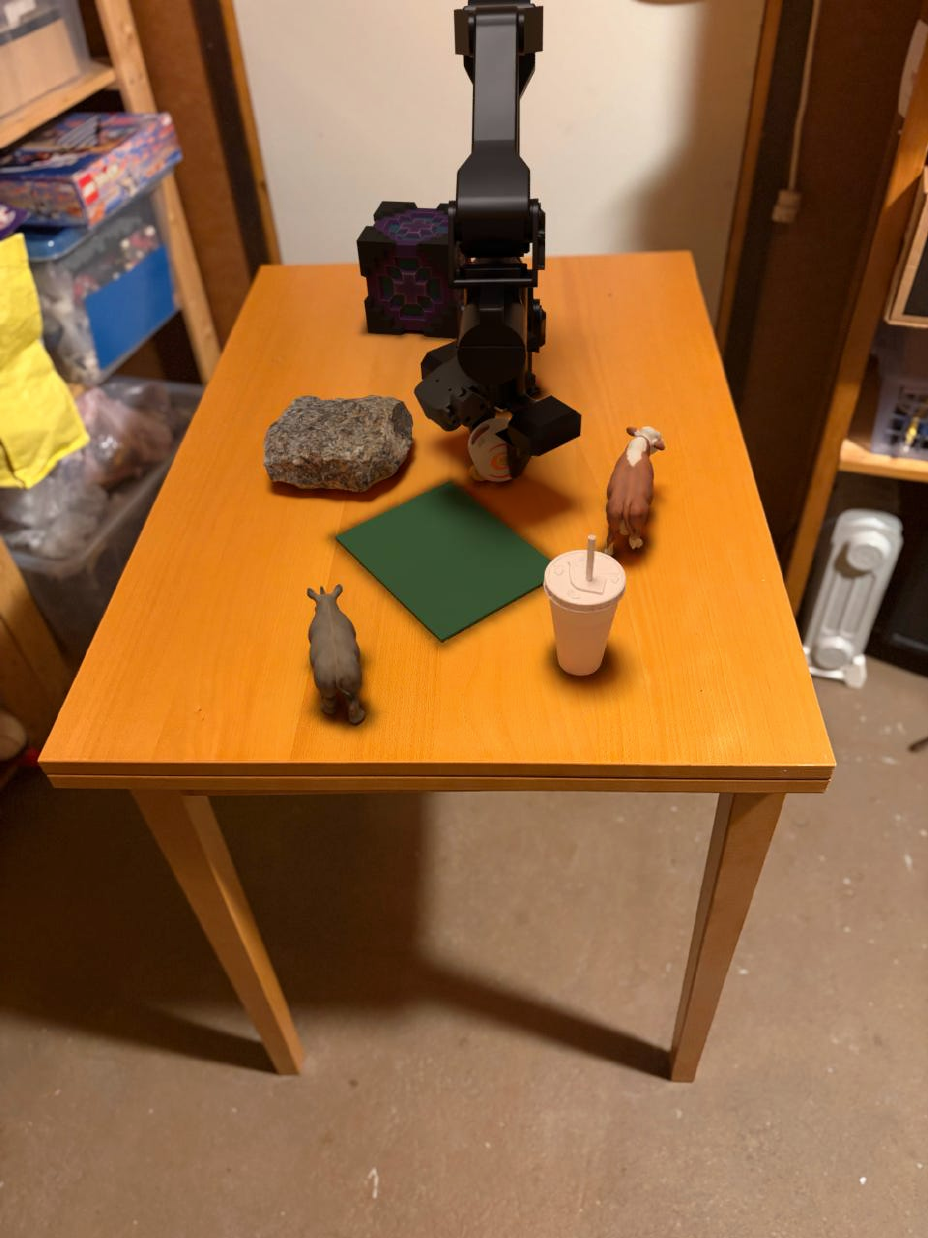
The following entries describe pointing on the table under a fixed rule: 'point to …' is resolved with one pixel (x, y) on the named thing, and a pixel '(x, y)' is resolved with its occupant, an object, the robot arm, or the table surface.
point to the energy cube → (409, 271)
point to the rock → (338, 442)
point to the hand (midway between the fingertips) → (499, 465)
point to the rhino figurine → (334, 654)
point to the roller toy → (489, 451)
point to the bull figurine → (632, 487)
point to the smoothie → (583, 605)
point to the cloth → (446, 559)
